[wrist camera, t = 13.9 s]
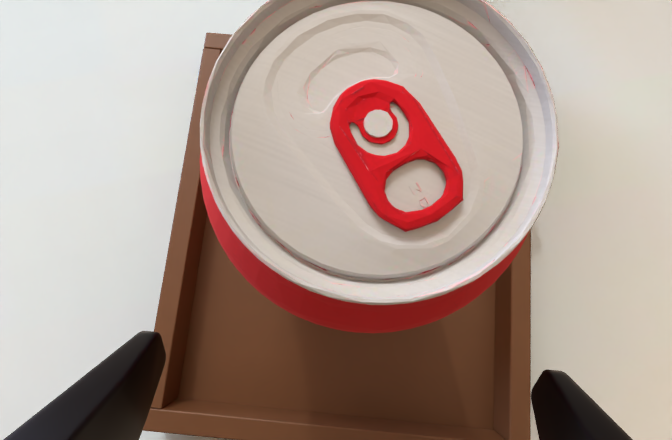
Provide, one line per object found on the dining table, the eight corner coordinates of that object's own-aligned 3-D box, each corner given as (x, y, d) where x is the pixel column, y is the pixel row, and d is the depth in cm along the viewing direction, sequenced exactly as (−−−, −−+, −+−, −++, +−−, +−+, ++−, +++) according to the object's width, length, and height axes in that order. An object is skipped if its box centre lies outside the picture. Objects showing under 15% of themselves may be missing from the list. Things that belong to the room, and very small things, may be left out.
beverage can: (375, 147, 18) (452, -124, 6) (445, 264, 17) (691, 202, 5) (255, 210, 18) (92, 41, 6) (320, 335, 17) (286, 442, 5)
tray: (505, 446, 16) (531, 470, 14) (162, 412, 17) (136, 430, 14) (509, 86, 19) (531, 60, 17) (220, 60, 20) (205, 31, 17)
